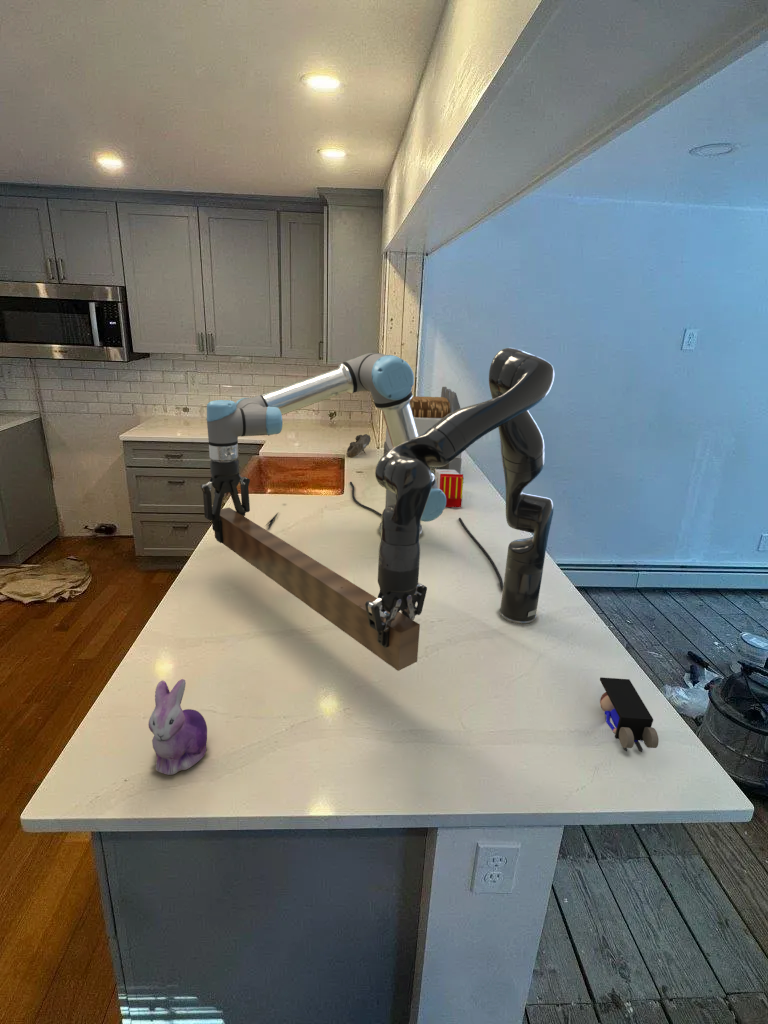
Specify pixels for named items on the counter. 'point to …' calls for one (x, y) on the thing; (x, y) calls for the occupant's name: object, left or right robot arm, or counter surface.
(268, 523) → the feather
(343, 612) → the beam
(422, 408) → the transformer
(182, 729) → the figurine
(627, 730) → the figurine character
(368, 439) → the fossil
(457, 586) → the counter surface
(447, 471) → the red striped box
